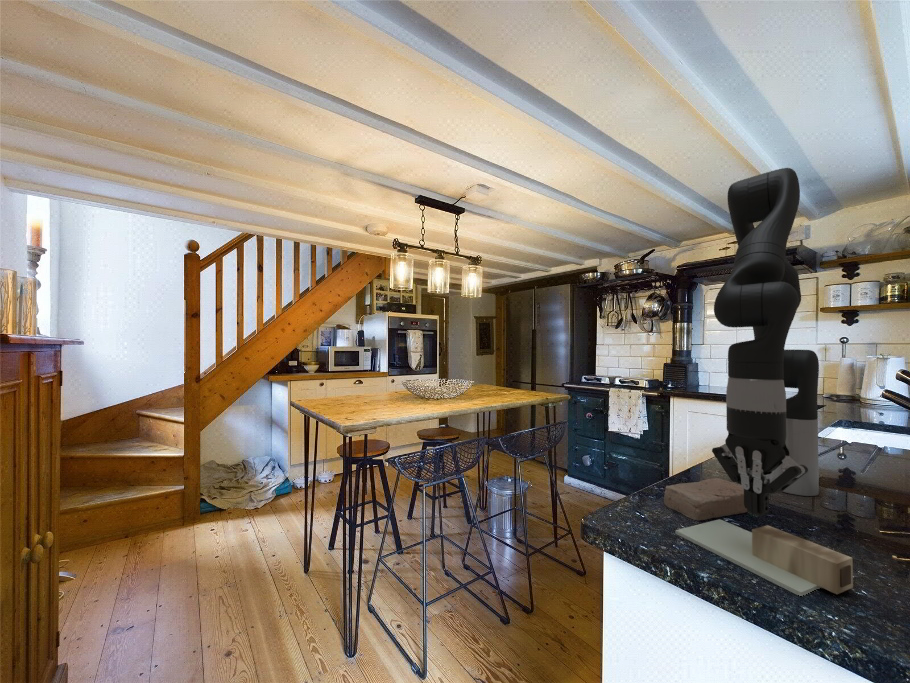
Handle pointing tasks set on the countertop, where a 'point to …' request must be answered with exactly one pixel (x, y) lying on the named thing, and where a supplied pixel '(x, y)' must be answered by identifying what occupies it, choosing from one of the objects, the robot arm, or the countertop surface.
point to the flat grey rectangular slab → (743, 553)
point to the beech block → (803, 558)
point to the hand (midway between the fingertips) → (756, 513)
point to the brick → (706, 499)
